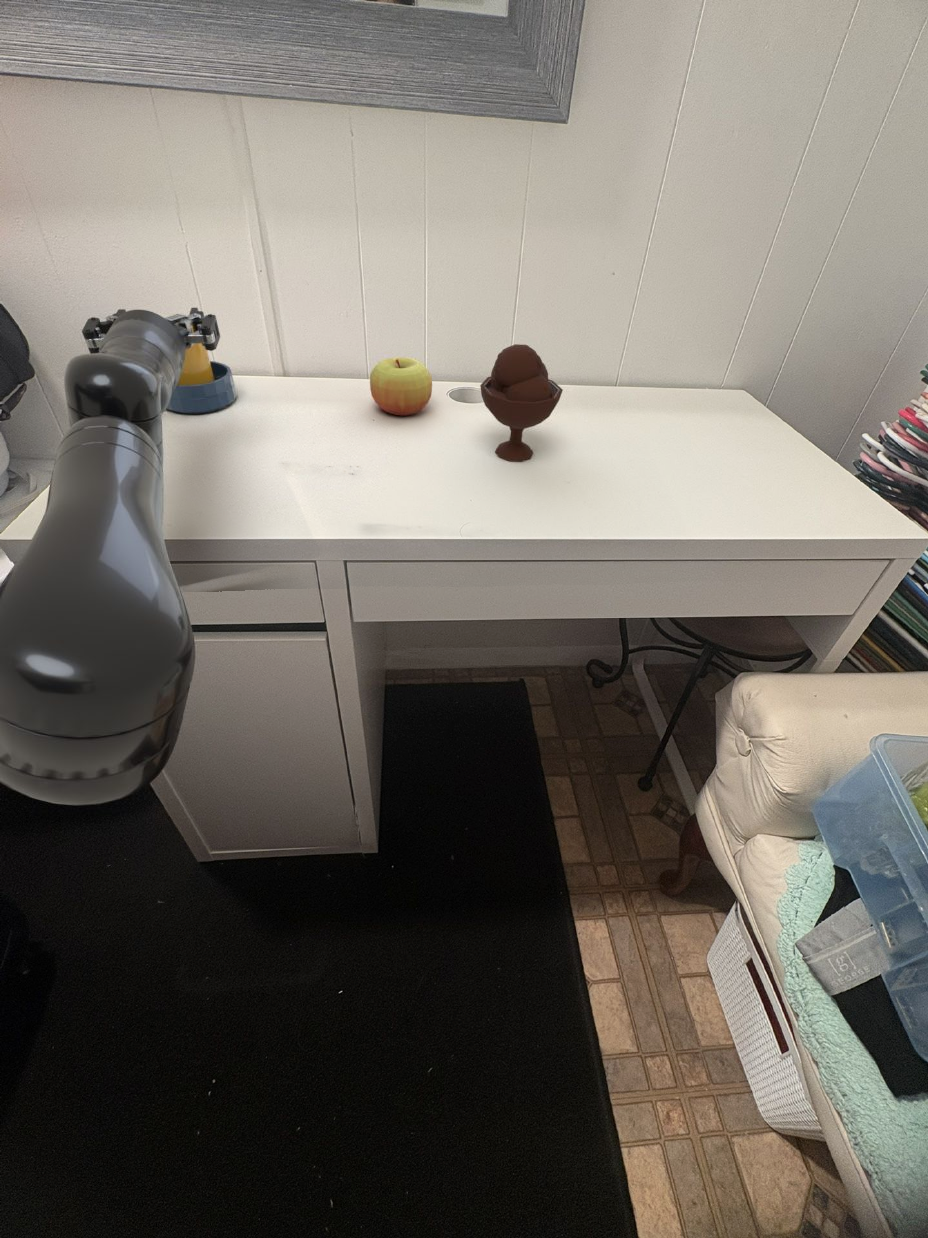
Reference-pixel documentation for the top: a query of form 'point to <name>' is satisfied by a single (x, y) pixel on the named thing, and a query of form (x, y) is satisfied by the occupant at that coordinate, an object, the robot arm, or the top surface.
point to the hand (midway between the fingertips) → (161, 316)
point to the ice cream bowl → (519, 397)
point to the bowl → (205, 393)
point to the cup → (196, 366)
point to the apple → (401, 385)
